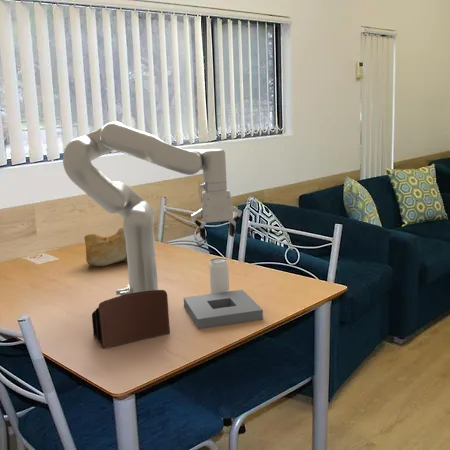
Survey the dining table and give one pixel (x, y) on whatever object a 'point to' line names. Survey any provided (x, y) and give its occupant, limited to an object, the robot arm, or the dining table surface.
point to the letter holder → (131, 318)
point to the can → (219, 275)
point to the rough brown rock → (105, 249)
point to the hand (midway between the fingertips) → (217, 237)
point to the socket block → (222, 308)
